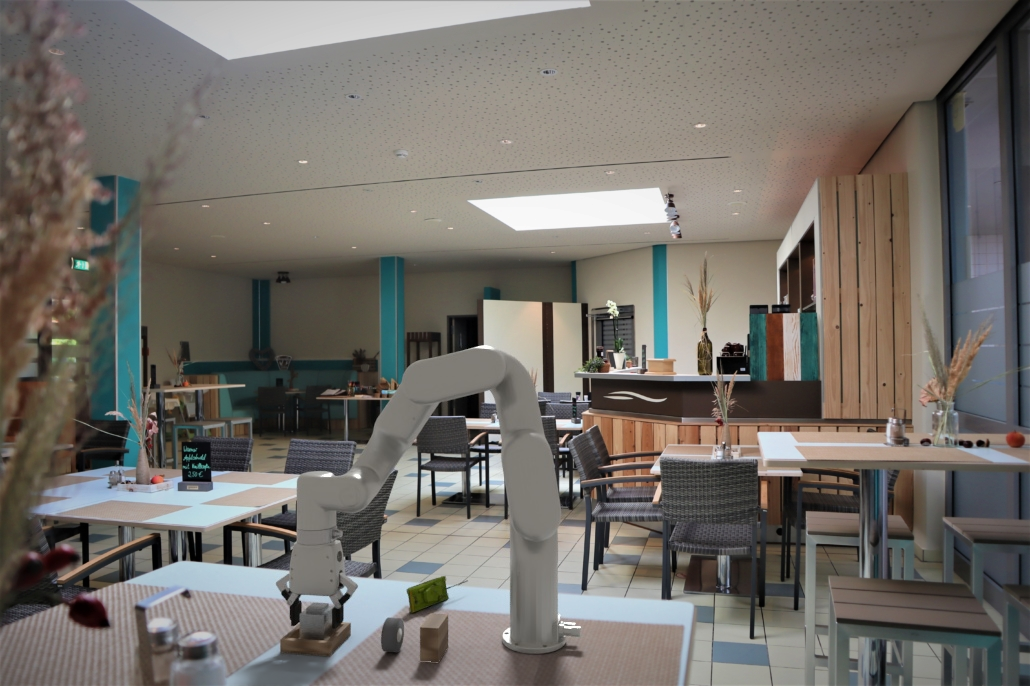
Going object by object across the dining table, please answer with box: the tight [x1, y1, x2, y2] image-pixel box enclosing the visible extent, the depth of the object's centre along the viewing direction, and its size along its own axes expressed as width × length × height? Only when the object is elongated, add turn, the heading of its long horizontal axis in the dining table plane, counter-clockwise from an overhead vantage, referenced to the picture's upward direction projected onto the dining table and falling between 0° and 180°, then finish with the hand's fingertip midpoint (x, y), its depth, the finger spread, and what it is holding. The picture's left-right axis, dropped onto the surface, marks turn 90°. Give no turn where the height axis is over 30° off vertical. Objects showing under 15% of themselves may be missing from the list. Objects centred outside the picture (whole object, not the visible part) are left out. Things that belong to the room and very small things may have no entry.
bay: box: [279, 621, 352, 657], centre depth 137 cm, size 10×10×2 cm
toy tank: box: [406, 575, 469, 614], centre depth 159 cm, size 7×19×10 cm
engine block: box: [299, 602, 335, 641], centre depth 137 cm, size 5×5×7 cm
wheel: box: [380, 617, 405, 653], centre depth 133 cm, size 3×6×6 cm, turn 171°
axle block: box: [419, 612, 449, 663], centre depth 132 cm, size 4×7×6 cm, turn 171°
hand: (316, 624), depth 137 cm, fingers open, 8 cm apart
